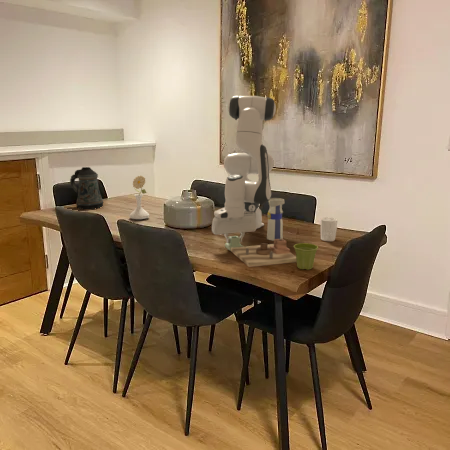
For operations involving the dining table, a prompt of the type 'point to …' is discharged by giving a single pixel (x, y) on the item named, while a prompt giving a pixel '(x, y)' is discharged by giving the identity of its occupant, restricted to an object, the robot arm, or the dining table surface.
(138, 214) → the flower in vase
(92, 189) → the beer stein
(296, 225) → the dining table surface
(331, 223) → the white cup
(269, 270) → the dining table surface
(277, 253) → the plate
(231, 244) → the pale green pipe fitting
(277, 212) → the water bottle
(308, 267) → the plant pot
